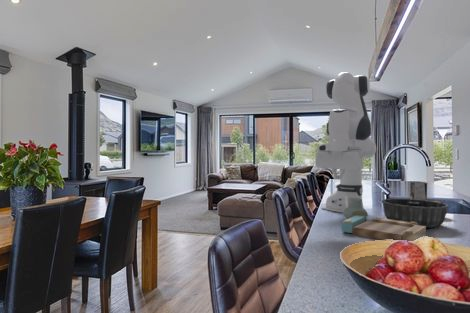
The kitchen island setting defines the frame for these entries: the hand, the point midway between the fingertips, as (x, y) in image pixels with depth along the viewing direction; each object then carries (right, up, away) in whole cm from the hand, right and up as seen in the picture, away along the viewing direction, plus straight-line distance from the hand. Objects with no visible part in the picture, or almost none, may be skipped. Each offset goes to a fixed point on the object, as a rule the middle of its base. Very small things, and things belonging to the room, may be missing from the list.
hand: (338, 179), depth 147 cm
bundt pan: (+36, -21, +7) cm, 42 cm away
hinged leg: (+5, -20, -4) cm, 21 cm away
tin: (+52, -20, +22) cm, 60 cm away
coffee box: (+53, -20, +36) cm, 67 cm away
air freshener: (+13, -20, +16) cm, 29 cm away
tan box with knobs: (+17, -21, -12) cm, 29 cm away
